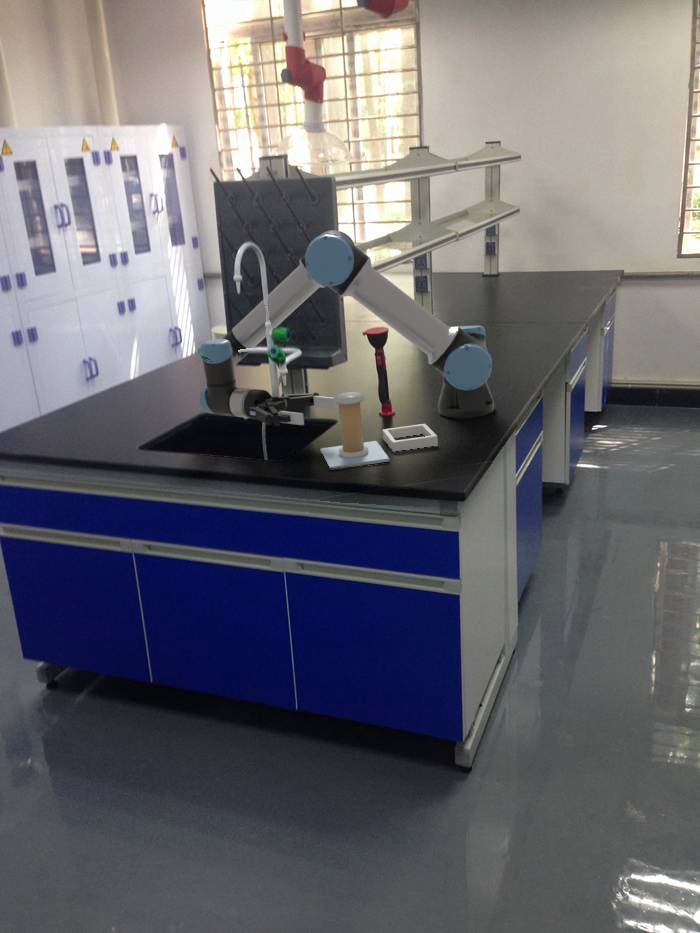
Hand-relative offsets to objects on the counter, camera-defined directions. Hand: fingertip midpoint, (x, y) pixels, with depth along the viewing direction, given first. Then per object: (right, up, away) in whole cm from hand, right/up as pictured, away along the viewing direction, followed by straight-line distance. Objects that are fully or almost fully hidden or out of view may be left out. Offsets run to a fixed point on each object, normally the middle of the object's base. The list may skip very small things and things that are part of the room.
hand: (319, 411), depth 199 cm
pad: (+8, -11, -1) cm, 14 cm away
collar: (+22, -7, +6) cm, 24 cm away
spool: (+8, -10, -1) cm, 13 cm away
